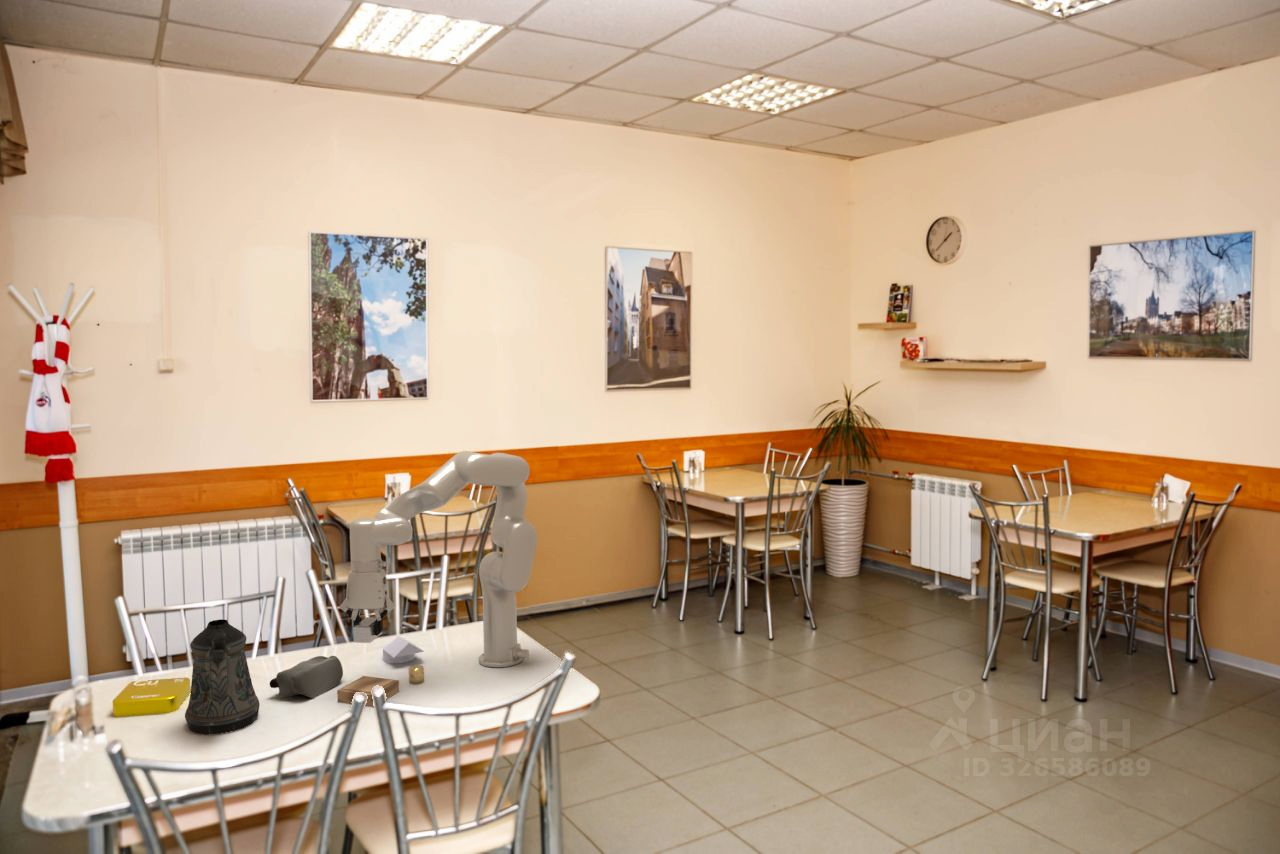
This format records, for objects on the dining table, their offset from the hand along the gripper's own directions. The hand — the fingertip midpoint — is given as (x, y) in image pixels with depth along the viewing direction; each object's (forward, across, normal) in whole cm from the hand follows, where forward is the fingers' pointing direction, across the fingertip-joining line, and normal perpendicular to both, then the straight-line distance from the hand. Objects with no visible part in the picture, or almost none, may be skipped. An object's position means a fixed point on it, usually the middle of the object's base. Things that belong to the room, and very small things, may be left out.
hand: (368, 633), depth 243 cm
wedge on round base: (+16, -1, -24) cm, 29 cm away
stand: (+16, -1, +4) cm, 16 cm away
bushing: (+16, -10, -7) cm, 20 cm away
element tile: (+16, +53, +10) cm, 56 cm away
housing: (+1, 0, 0) cm, 1 cm away
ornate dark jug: (+16, +28, +22) cm, 39 cm away
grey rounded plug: (+16, +17, 0) cm, 23 cm away
